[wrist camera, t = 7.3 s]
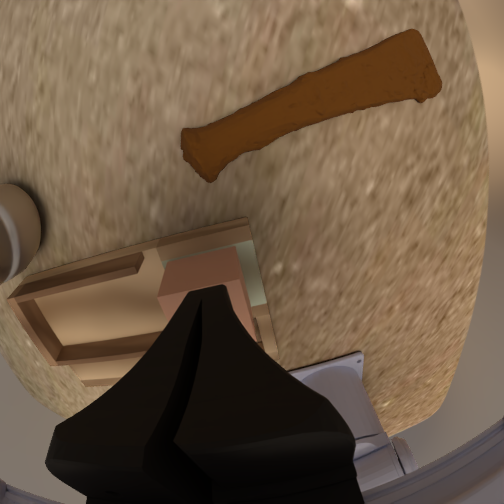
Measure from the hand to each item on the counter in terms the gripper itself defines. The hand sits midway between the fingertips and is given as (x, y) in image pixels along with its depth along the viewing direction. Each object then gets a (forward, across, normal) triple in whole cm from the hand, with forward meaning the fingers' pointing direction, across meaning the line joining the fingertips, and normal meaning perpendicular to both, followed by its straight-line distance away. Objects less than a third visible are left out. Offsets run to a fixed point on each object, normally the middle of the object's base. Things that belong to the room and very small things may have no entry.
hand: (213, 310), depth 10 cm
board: (+10, +8, +6) cm, 14 cm away
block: (+8, +1, +4) cm, 9 cm away
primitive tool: (+11, -9, -7) cm, 16 cm away
